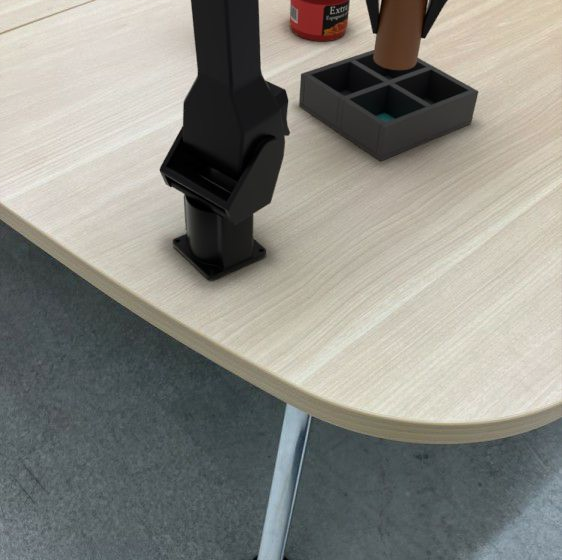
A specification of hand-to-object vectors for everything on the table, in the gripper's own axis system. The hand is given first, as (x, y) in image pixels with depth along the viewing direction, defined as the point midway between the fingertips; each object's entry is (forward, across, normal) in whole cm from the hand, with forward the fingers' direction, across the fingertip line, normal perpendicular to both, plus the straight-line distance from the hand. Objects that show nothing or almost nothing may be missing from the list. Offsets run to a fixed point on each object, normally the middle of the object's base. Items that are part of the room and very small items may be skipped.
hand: (399, 34), depth 77 cm
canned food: (+13, +10, -28) cm, 33 cm away
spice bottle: (+3, 0, 0) cm, 3 cm away
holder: (+13, 0, -7) cm, 15 cm away
